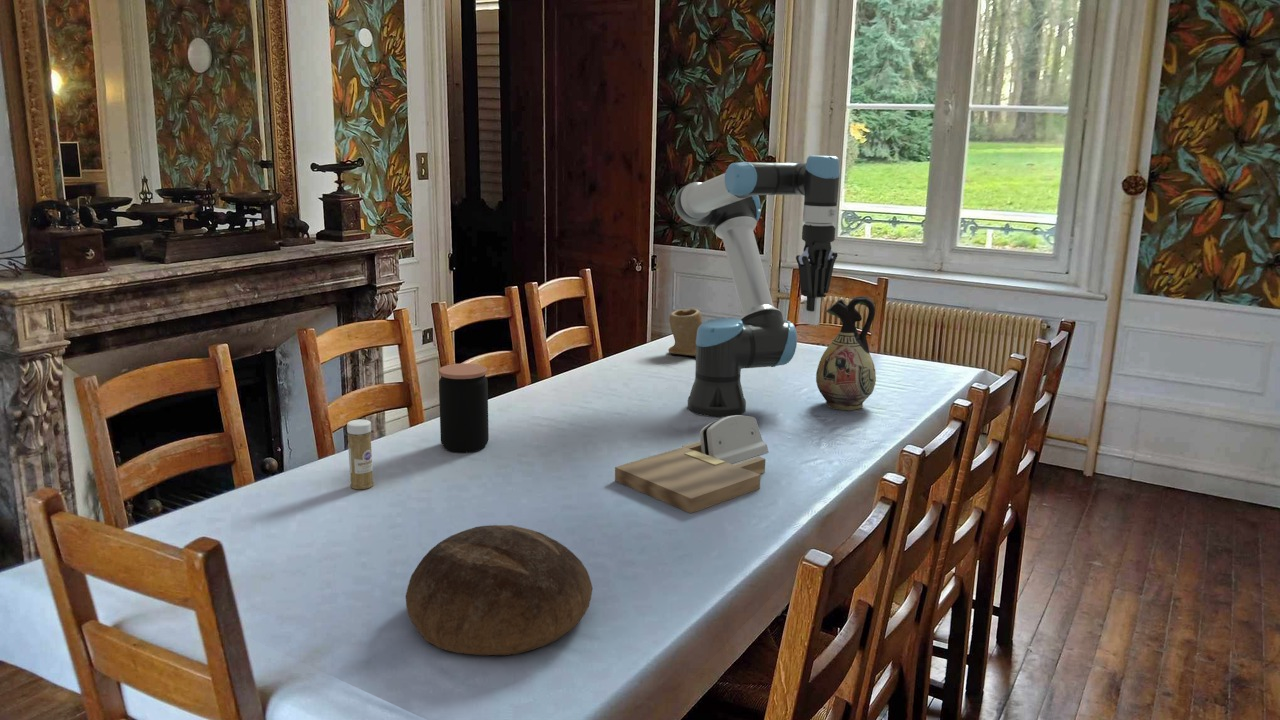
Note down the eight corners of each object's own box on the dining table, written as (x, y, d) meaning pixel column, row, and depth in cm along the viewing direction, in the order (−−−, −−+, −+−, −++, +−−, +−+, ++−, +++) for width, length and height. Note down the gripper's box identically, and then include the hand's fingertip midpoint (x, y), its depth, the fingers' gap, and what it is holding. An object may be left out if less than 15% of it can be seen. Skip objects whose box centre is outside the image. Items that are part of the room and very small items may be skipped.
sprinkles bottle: (365, 491, 188) (362, 426, 185) (345, 488, 189) (341, 424, 186) (378, 483, 192) (375, 420, 189) (358, 480, 194) (355, 417, 190)
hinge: (718, 468, 205) (708, 422, 205) (703, 469, 209) (694, 424, 209) (769, 452, 216) (760, 408, 216) (754, 453, 219) (745, 410, 220)
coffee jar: (497, 442, 218) (496, 366, 214) (470, 456, 209) (469, 377, 204) (459, 435, 223) (457, 361, 218) (431, 449, 213) (428, 371, 209)
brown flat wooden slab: (613, 480, 197) (613, 465, 196) (707, 451, 215) (707, 438, 214) (690, 513, 181) (691, 497, 180) (784, 479, 199) (785, 464, 198)
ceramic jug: (808, 410, 249) (815, 296, 241) (820, 395, 262) (828, 287, 255) (874, 418, 242) (884, 302, 235) (883, 403, 256) (892, 293, 249)
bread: (511, 686, 124) (509, 595, 121) (370, 626, 139) (366, 542, 135) (623, 607, 146) (624, 527, 142) (491, 561, 160) (490, 488, 157)
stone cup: (661, 356, 303) (662, 310, 299) (677, 349, 313) (678, 304, 310) (704, 362, 296) (706, 315, 293) (719, 354, 307) (721, 309, 303)
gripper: (814, 227, 213) (808, 330, 218) (849, 223, 221) (842, 323, 227) (788, 224, 218) (782, 324, 224) (823, 221, 227) (816, 318, 232)
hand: (812, 324), depth 225 cm, fingers closed
